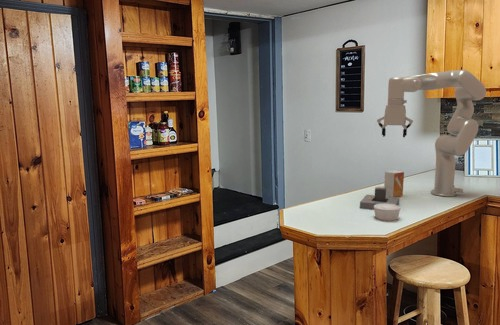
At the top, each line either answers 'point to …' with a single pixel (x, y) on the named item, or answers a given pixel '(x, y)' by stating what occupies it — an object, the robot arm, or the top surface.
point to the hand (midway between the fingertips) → (393, 136)
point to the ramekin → (386, 211)
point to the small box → (394, 183)
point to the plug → (380, 194)
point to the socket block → (370, 201)
